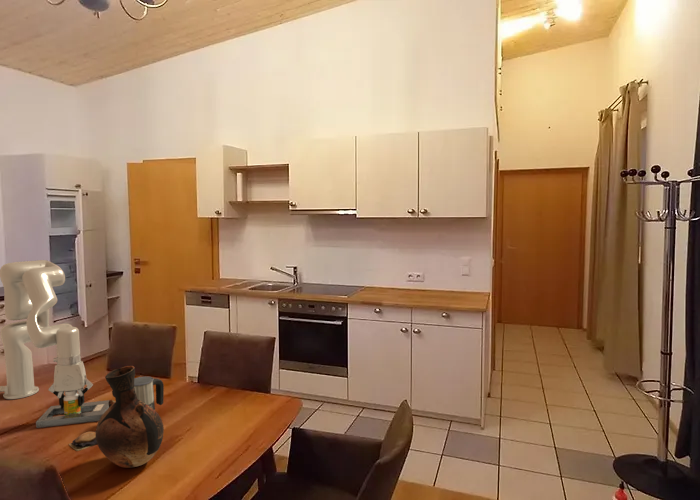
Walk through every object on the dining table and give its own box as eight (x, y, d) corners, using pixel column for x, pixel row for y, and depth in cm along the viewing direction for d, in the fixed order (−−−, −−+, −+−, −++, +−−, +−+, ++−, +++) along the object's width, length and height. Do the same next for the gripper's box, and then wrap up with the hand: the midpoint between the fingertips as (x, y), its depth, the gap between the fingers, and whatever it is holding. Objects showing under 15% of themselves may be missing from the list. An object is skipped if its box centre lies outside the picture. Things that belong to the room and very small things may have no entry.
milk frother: (145, 425, 168) (143, 385, 167) (108, 421, 171) (105, 383, 170) (168, 408, 182) (166, 372, 181) (133, 406, 185) (131, 370, 184)
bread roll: (77, 453, 149) (76, 443, 149) (67, 445, 155) (66, 435, 154) (110, 441, 158) (110, 430, 157) (100, 433, 163) (100, 423, 163)
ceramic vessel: (178, 456, 145) (173, 364, 143) (129, 486, 130) (124, 383, 128) (133, 442, 155) (128, 356, 153) (83, 468, 139) (77, 372, 137)
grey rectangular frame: (36, 428, 167) (35, 421, 167) (51, 412, 180) (50, 406, 180) (102, 420, 172) (102, 414, 172) (112, 405, 186) (111, 399, 185)
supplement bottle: (67, 418, 172) (66, 393, 171) (62, 415, 175) (60, 390, 175) (83, 413, 176) (81, 389, 176) (77, 410, 180) (75, 386, 179)
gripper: (39, 365, 168) (43, 412, 170) (91, 361, 173) (93, 407, 174) (47, 358, 176) (50, 404, 177) (97, 355, 180) (99, 399, 181)
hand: (72, 405), depth 176 cm, fingers closed on supplement bottle, 5 cm apart
